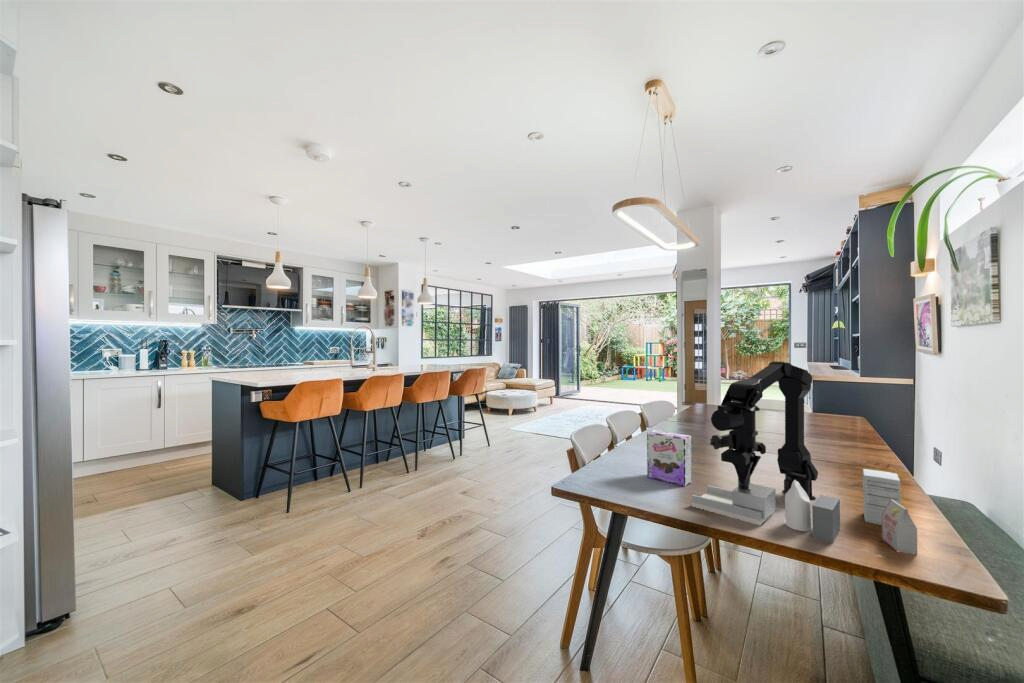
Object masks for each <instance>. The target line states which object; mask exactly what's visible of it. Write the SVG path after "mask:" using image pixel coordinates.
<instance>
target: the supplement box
mask: <svg viewBox="0 0 1024 683" xmlns="http://www.w3.org/2000/svg"><path fill="white" fill-rule="evenodd" d="M901 493H902V492H901V479H900V477H899V475H898V473H895V472H891V471H883V470H875V469H868V468H862V499H863V500H862V502H863V508H862V509H863V515H864V516H863V517H864V522H866V523H871V524H875V525H881V526H882V513H883V512H884V510H885V508H886V507H887V505H888V503H889V499H891V500H894V501H895V502H897V503H898V504H900V505H901V503H902V501H901V500H902V499H901V498H902V496H901ZM901 506H902V505H901Z"/></svg>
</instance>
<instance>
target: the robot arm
mask: <svg viewBox="0 0 1024 683" xmlns="http://www.w3.org/2000/svg"><path fill="white" fill-rule="evenodd" d="M776 382H778V389H779V390H780V392H781V393H782V395H783V396H784V443H783V445H782V446H781V448H778V449H777V460H776V461H777V464H778V468H779V469H778V470H779V473H780V474H784V476H785V477H784V478H785V479H784V480H783V490H782V489H781V490H782V493H783V494H785V495H786V493H787V492H788V491H789V489H790V488H791V485H792V482H793V481H794V480H796V481H798V482H799V484H800V485H801V487H802V488H803V489H804V491H805V492H806V493H807V495H808V497H809V499H810V500H817V498H816V496H814V495H813V481H817V479H818V476H819V475H818V474H819V471H818V470H817V468H816V467H815V465H814V464H813V462H812V456H811V452H809V450H808V448H807V447H806V445H805V398H806V396H807V395H808V393H809V392H810V390H811V387H812V383H813V376H812V374H811V373H810V372H809V371H808V370H807V369H804V368H802V367H798V366H795V365H794V364H793V365H792V364H791V363H790V362H788V361H776V360H775V361H771V362H769V363H768V365H766V366H765V367H764V368H762V369H761V370H759V371H758V372H756V373H755V374H754V375H752V376H750V377H749V378H746V379H741V380H737V381H734V382H732V383H731V384H730V385H729V386H728V388H727V391H726V393H725V395H724V397H723V399H722V401H721V404H720V405H717V410H715V411H714V412H712V415H711V417H710V420H711V424H712V426H713V428H714V429H716V430H717V431H720V432H724V431H728V434H723V435H721V434H719V433H718V434H713V435H712V436H711V438H710V439H709V440H710V443H709V444H710V446H712V447H713V449H714V450H719V449H722V448H728V449H726V450H724V451H723V452H722V453H720V455H721V456H720V461H721V462H725V463H729V464H730V463H731V464H732V465H733V466H734V469H735V471H736V474H737V479H738V478H739V481H740V483H741V484H745V482H746V479H747V477H748V474H749V472H750V478H751V477H752V475H753V473H754V471H755V469H756V467H757V466H758V464H759V462H760V460H761V458H762V456H760V455H765V454H766V452H767V451H766V450H767V446H766V445H765V444H764V443H763V442H760V441H759V442H758V441H757V440H756V439H757V438H756V437H757V436H758V435H759V431H758V430H756V429H757V428H756V427H757V426H756V425H757V424H756V421H757V420H756V412H759V411H760V410H761V409H760V407H759V406H758V405H756V404H757V403H758V402H759V401H760V400H761V399H762V398H763V392H764V391H765V390H767V389H768V388H769V387H771V386H772V385H774V384H775V383H776ZM756 452H759V453H760V455H756Z"/></svg>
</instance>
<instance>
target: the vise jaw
mask: <svg viewBox="0 0 1024 683" xmlns="http://www.w3.org/2000/svg"><path fill="white" fill-rule="evenodd" d="M731 491H732V505H735V506H739V507H743V508H747V509H751V510H755V511H758V512H762V518H763V519H766V518H767V517H768V516H769V515H770V514H771V513H772V512H773V511H774V512H775V509H777V508H776V507H777V505H776V504H777V503H776V499H777V498H776V488H773V487H768V486H763V485H759V484H755V483H751V477H750V472H749V474H748V477H747V479H746V482H745V484H741V483H740V481H739V478H738V477H737V487H735V488H734V489H733V490H731ZM774 512H773V513H774ZM773 513H772V514H773ZM772 514H771V515H772ZM771 515H770V516H771ZM770 516H769V517H770ZM769 517H768V518H769Z"/></svg>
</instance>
